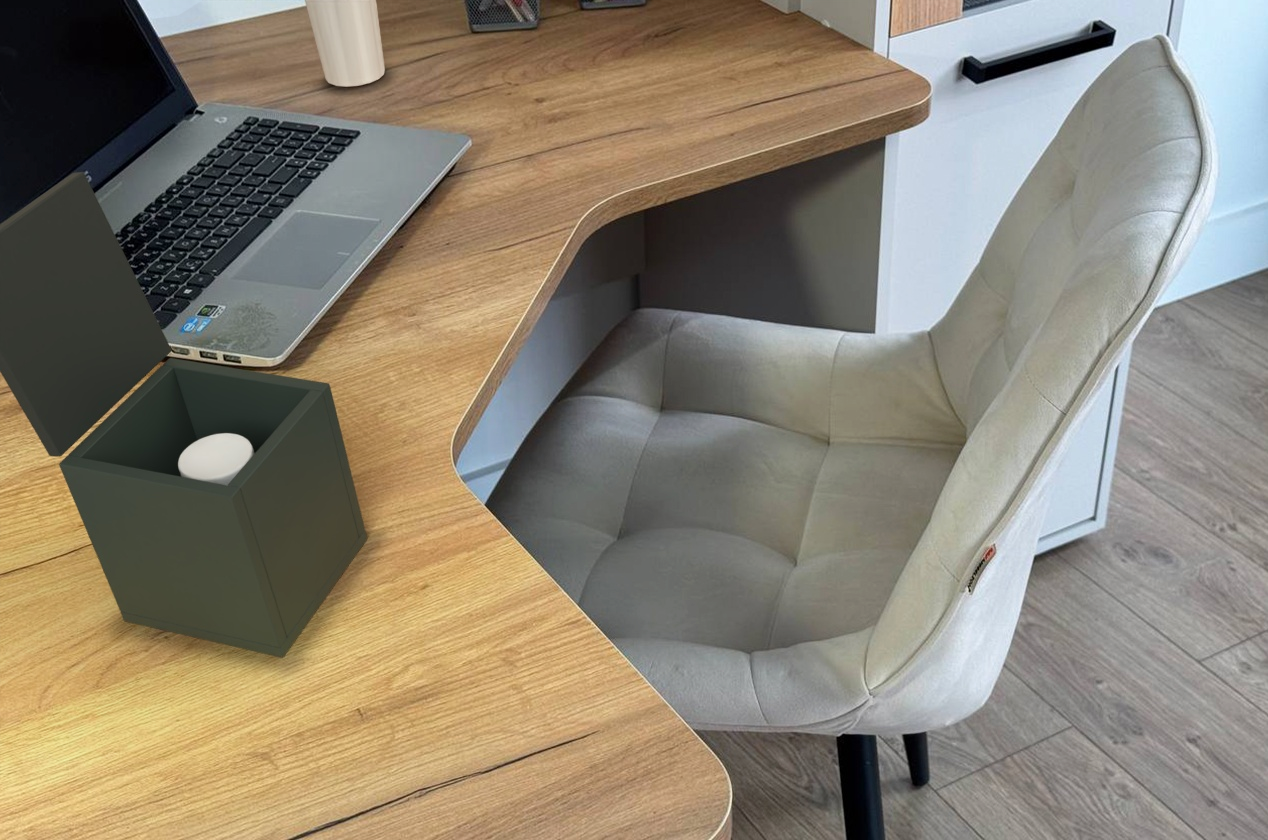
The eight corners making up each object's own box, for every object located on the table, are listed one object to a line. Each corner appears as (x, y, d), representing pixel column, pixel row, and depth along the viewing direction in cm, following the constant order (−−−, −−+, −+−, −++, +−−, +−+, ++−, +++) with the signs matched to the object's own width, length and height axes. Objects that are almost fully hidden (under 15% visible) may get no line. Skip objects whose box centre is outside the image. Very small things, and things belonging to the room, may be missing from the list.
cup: (314, 70, 141) (285, -65, 132) (389, 58, 143) (366, -76, 134) (320, 98, 135) (290, -41, 126) (398, 86, 136) (374, -53, 128)
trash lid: (84, 171, 70) (72, 172, 70) (-50, 266, 62) (-62, 267, 62) (172, 350, 76) (162, 351, 76) (60, 457, 68) (49, 457, 69)
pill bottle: (189, 595, 76) (142, 465, 70) (259, 541, 80) (220, 413, 74) (252, 631, 74) (208, 499, 68) (322, 574, 77) (286, 444, 71)
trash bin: (367, 538, 80) (329, 382, 73) (283, 658, 73) (231, 497, 66) (219, 509, 83) (169, 357, 76) (123, 621, 76) (57, 463, 69)
